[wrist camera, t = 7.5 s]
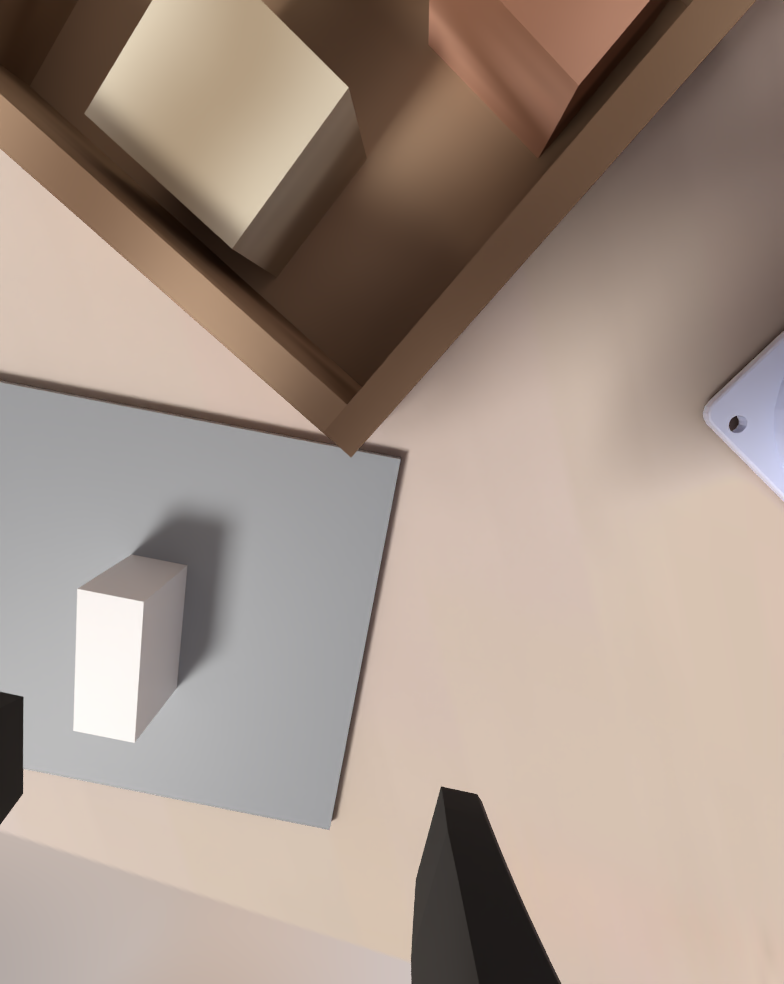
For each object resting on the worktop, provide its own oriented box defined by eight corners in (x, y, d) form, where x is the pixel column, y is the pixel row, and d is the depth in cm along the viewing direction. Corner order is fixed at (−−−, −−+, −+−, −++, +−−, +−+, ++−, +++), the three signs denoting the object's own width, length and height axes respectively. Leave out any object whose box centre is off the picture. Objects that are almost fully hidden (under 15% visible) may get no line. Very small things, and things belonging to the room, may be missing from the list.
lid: (401, 454, 17) (396, 477, 13) (333, 808, 21) (314, 903, 17) (-32, 370, 17) (-157, 370, 13) (-22, 737, 21) (-118, 817, 17)
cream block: (367, 158, 13) (348, 87, 10) (276, 277, 14) (232, 248, 11) (252, 46, 13) (193, -68, 10) (166, 176, 14) (84, 113, 10)
